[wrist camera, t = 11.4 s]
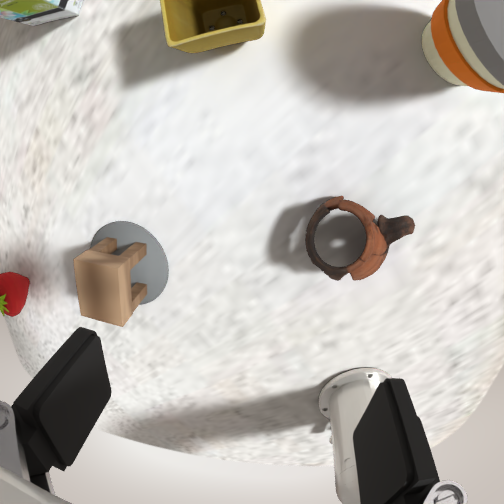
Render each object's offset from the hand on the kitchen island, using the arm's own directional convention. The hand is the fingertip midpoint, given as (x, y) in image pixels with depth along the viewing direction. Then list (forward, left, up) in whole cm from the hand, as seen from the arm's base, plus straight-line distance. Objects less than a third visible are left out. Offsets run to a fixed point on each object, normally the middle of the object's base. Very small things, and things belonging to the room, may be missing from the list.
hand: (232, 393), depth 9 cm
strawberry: (-18, +39, -28) cm, 51 cm away
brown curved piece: (-2, -10, -29) cm, 30 cm away
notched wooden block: (-11, +18, -28) cm, 35 cm away
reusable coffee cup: (+23, -19, -28) cm, 41 cm away
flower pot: (+20, +8, -28) cm, 36 cm away
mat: (-11, +18, -28) cm, 35 cm away
